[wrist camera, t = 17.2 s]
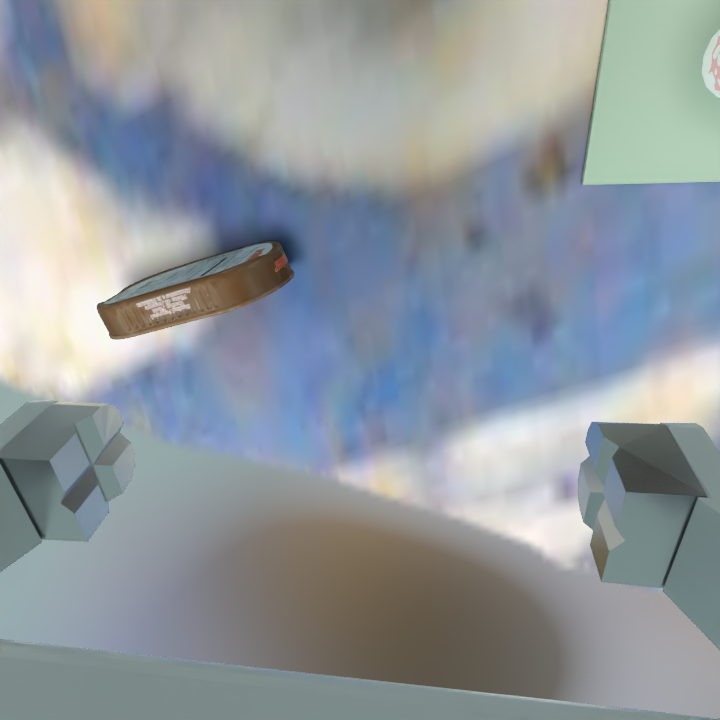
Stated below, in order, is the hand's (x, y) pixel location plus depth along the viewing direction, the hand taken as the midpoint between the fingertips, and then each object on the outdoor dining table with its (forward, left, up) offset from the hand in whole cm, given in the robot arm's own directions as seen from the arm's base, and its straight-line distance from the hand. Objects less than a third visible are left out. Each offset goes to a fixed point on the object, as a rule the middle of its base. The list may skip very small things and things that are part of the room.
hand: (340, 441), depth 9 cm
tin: (-7, -17, -31) cm, 36 cm away
